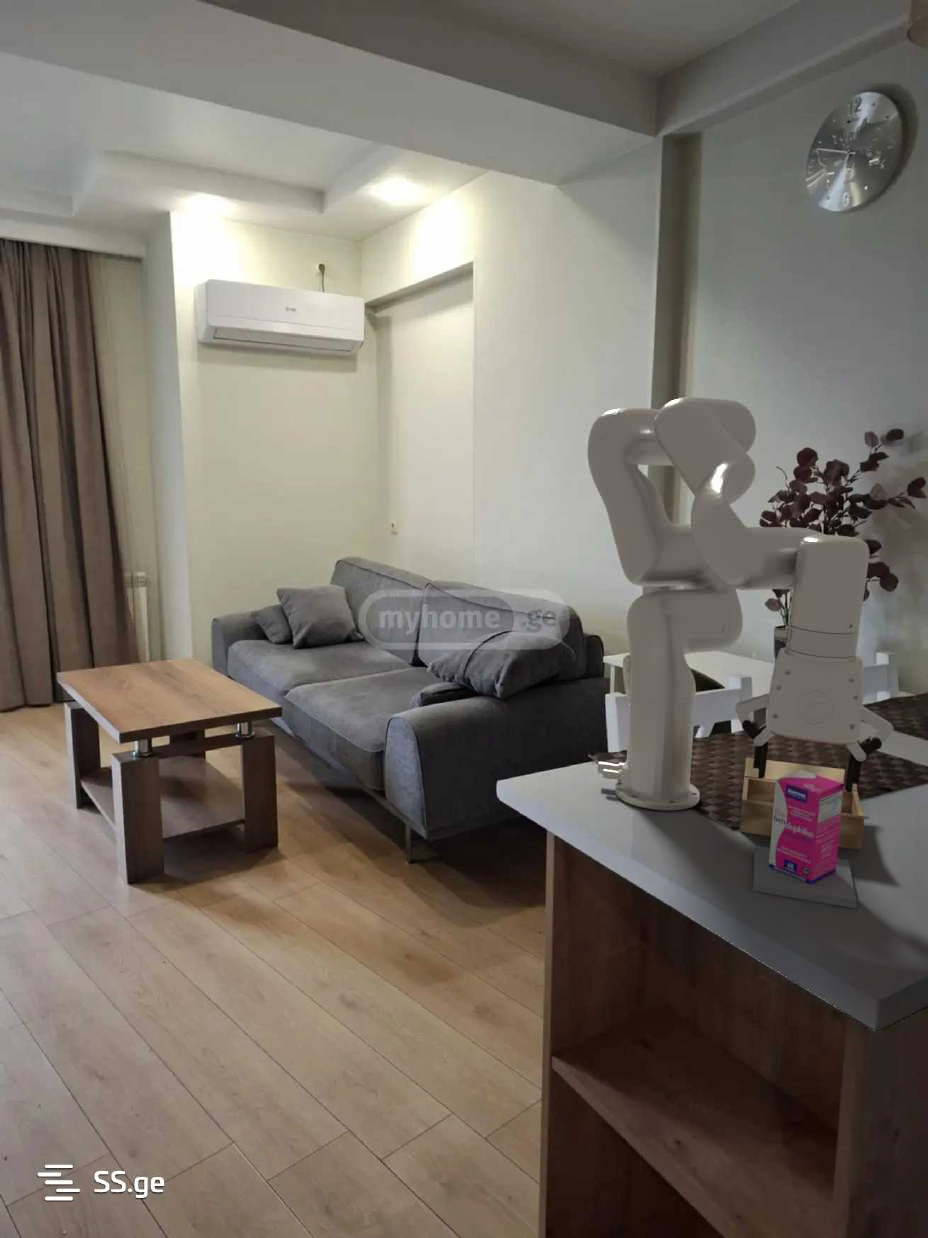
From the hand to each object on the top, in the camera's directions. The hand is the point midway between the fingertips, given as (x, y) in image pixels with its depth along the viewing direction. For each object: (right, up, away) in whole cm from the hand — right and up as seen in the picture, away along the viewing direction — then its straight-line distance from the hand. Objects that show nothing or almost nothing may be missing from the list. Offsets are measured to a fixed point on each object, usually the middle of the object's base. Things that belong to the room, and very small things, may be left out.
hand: (803, 781), depth 100 cm
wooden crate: (+6, -10, +17) cm, 20 cm away
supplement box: (0, -11, +1) cm, 11 cm away
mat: (0, -12, +1) cm, 12 cm away
